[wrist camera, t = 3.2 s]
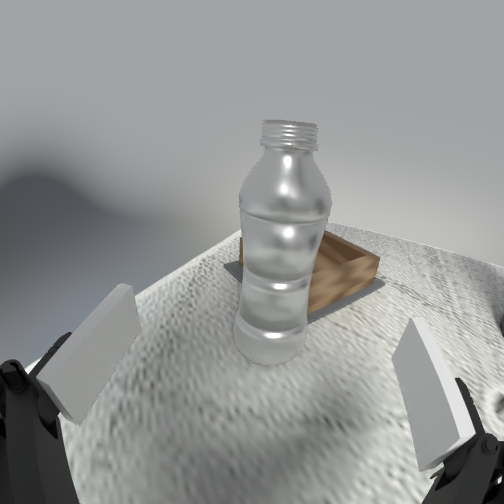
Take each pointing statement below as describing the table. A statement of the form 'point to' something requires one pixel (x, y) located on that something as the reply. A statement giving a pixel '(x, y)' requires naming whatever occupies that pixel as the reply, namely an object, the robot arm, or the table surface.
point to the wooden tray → (337, 271)
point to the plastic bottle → (280, 242)
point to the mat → (238, 274)
